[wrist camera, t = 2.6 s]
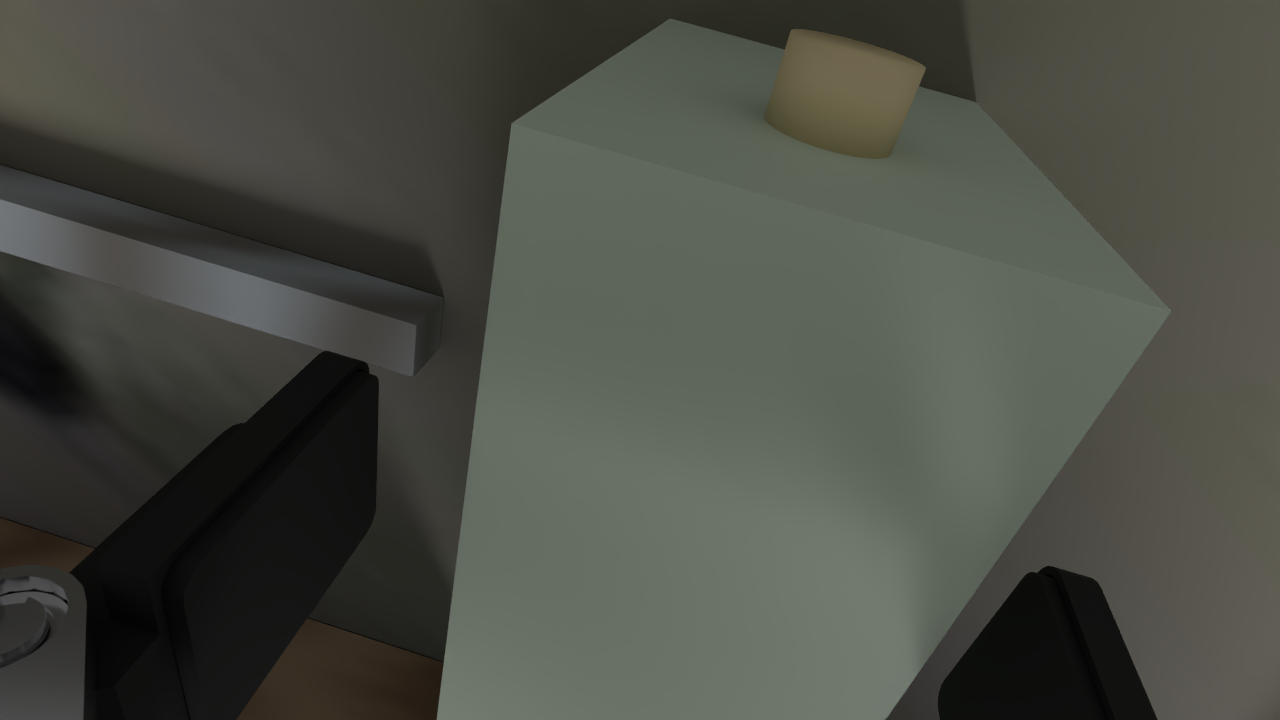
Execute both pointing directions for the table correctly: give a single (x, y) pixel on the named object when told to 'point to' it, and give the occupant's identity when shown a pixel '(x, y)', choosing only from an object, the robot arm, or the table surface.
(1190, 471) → the table surface
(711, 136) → the pale green block
